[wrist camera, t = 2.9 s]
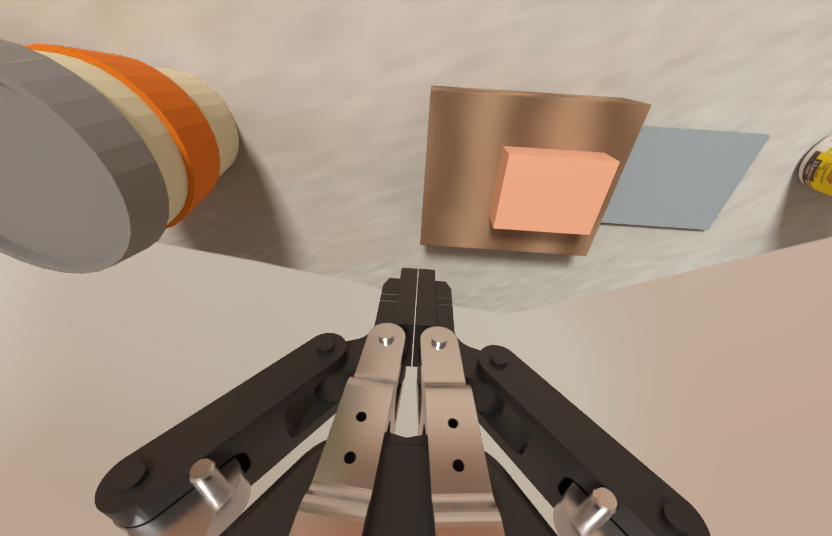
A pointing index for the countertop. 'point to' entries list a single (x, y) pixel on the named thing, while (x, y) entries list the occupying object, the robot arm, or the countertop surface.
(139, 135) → the reusable coffee cup
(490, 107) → the block
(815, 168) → the supplement bottle
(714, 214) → the mat
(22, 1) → the countertop surface
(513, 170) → the salmon foam block
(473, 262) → the countertop surface
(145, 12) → the countertop surface
